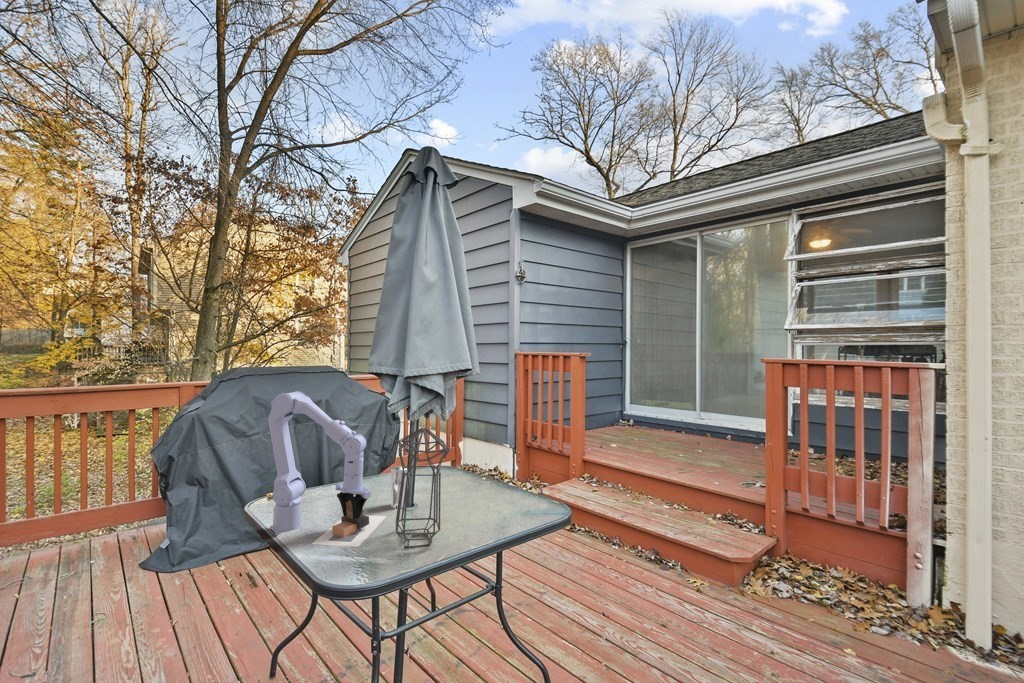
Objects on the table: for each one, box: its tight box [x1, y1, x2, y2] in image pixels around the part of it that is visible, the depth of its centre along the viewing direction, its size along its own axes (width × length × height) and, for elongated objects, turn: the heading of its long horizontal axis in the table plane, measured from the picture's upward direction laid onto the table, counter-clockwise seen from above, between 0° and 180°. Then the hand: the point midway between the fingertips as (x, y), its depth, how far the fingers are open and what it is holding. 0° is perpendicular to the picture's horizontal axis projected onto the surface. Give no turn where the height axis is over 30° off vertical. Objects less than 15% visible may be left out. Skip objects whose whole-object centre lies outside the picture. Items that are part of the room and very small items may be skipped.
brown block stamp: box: [340, 500, 369, 530], centre depth 147 cm, size 4×8×8 cm, turn 62°
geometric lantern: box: [395, 427, 452, 549], centre depth 143 cm, size 16×16×35 cm
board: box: [311, 514, 387, 548], centre depth 147 cm, size 26×14×1 cm, turn 177°
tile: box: [331, 521, 357, 538], centre depth 143 cm, size 5×5×2 cm
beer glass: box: [389, 465, 407, 509], centre depth 171 cm, size 7×7×15 cm
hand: (351, 516), depth 146 cm, fingers closed on brown block stamp, 4 cm apart
